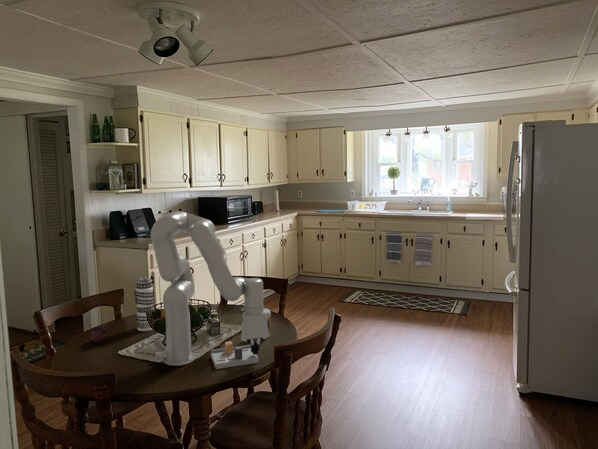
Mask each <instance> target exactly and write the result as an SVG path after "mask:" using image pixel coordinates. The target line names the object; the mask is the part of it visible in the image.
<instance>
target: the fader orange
mask: <svg viewBox="0 0 598 449" xmlns="http://www.w3.org/2000/svg"><path fill="white" fill-rule="evenodd" d="M224 346H225V347H224V348H225V351H226V353H227V354H233V347H234V346H233V341H225V344H224Z"/></svg>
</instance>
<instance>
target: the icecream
mask: <svg viewBox="0 0 598 449" xmlns="http://www.w3.org/2000/svg"><path fill="white" fill-rule="evenodd" d="M107 329H108V325H107V324H105V325H103V326H102V327H100V326H99V327H95V328H93V329H92V330H91V331H90V332H89V333H90V334H89V336H90V341H92V342H94V343H98V344H99V343H103V342H104V341H105V340H106V339H107V336H108V331H107Z"/></svg>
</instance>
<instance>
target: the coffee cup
mask: <svg viewBox="0 0 598 449" xmlns="http://www.w3.org/2000/svg"><path fill="white" fill-rule="evenodd" d="M264 311H265V312H266V316H267V324H268V337H267V338H266V339H268V338H269V337H270V331H271V314H272V312H271V310H270V308H265V307H264Z"/></svg>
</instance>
